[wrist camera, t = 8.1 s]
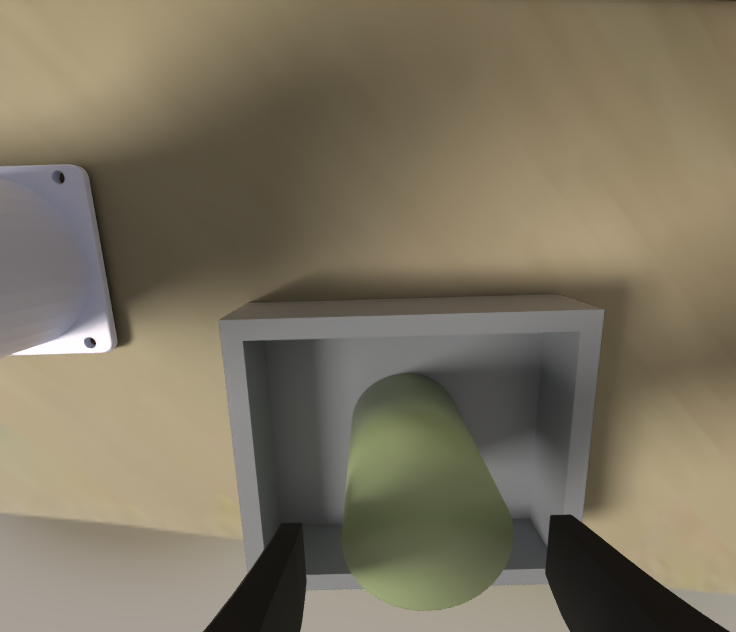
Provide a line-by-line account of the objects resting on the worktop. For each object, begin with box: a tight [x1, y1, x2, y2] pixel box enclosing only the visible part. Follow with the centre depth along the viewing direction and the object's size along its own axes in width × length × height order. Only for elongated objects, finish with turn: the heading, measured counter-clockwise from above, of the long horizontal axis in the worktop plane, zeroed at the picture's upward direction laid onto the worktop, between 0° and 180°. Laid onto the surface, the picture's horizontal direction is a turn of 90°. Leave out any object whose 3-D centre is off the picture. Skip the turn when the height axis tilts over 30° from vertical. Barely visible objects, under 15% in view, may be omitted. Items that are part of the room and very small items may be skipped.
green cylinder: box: [342, 373, 514, 611], centre depth 15 cm, size 5×5×7 cm
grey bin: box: [218, 294, 605, 590], centre depth 17 cm, size 14×12×4 cm
